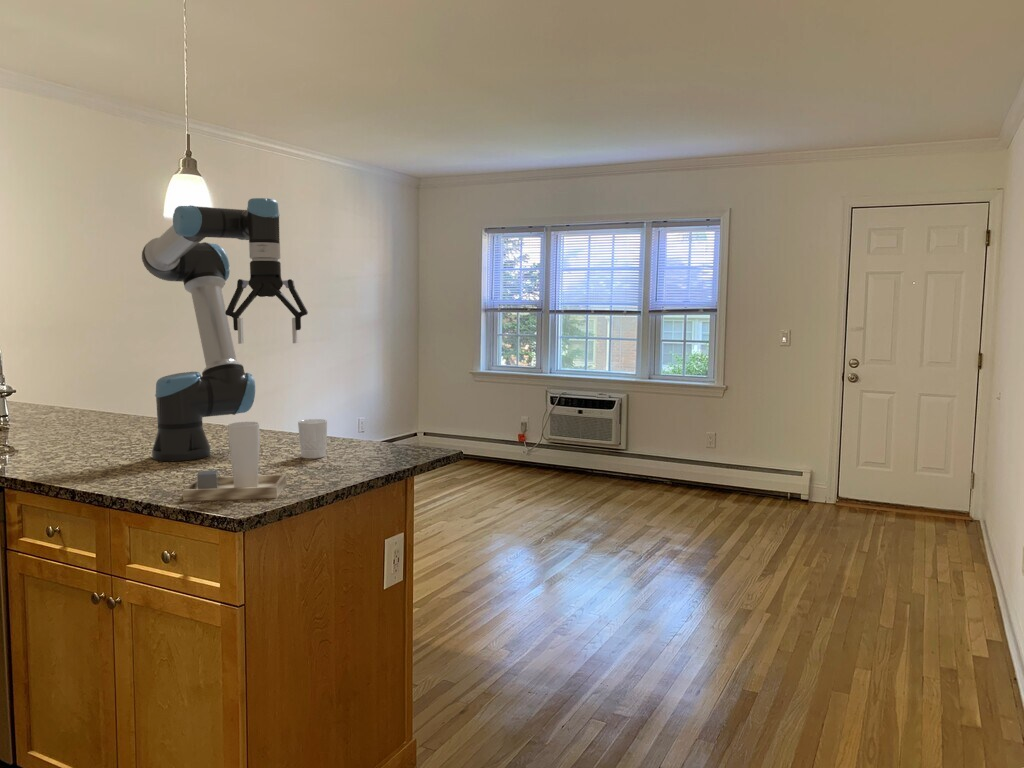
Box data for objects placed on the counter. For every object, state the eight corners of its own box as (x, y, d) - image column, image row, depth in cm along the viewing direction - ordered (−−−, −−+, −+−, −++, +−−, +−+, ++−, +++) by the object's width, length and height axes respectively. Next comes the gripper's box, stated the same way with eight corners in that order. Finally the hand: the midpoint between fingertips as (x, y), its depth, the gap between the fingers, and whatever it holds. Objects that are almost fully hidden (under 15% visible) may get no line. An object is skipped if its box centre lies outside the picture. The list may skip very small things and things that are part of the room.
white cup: (320, 459, 219) (319, 423, 218) (294, 458, 221) (292, 423, 220) (332, 454, 227) (331, 419, 226) (307, 453, 228) (305, 418, 227)
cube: (198, 492, 179) (197, 475, 179) (199, 488, 183) (198, 471, 182) (217, 491, 180) (216, 473, 180) (218, 487, 184) (217, 470, 184)
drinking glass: (234, 485, 186) (232, 421, 184) (264, 484, 186) (262, 421, 185) (227, 492, 179) (224, 426, 177) (258, 491, 180) (255, 425, 178)
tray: (183, 501, 175) (182, 490, 175) (199, 487, 188) (199, 477, 187) (276, 497, 177) (276, 487, 177) (286, 484, 190) (286, 474, 190)
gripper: (210, 259, 199) (214, 344, 201) (313, 259, 202) (315, 343, 204) (218, 260, 206) (221, 342, 209) (316, 261, 209) (319, 341, 212)
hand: (268, 343), depth 206 cm, fingers open, 13 cm apart
